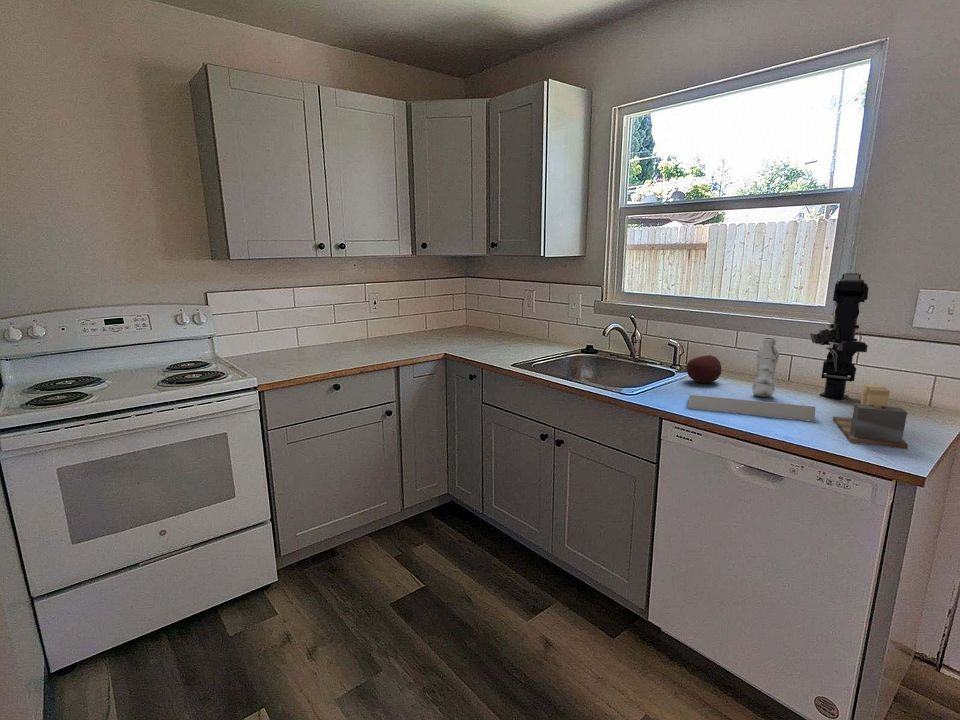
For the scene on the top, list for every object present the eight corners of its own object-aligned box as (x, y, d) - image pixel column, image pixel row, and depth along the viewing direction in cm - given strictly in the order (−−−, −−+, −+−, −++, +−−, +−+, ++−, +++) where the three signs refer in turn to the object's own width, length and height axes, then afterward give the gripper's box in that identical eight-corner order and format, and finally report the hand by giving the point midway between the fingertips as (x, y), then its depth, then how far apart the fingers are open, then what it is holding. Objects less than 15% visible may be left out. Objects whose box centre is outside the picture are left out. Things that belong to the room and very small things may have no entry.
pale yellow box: (857, 425, 139) (863, 383, 137) (874, 427, 138) (881, 385, 135) (865, 434, 133) (872, 391, 130) (883, 436, 131) (891, 392, 128)
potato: (678, 380, 193) (680, 354, 191) (707, 377, 196) (709, 351, 194) (698, 388, 182) (700, 360, 180) (728, 385, 186) (731, 357, 184)
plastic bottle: (748, 393, 175) (755, 336, 171) (770, 394, 174) (777, 337, 170) (754, 398, 169) (761, 340, 165) (776, 399, 168) (784, 340, 163)
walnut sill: (832, 420, 148) (837, 389, 146) (882, 425, 143) (888, 394, 141) (850, 442, 131) (855, 408, 129) (907, 448, 127) (913, 414, 125)
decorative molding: (688, 408, 169) (688, 409, 160) (689, 394, 169) (689, 394, 160) (806, 421, 156) (814, 423, 147) (808, 405, 156) (815, 406, 147)
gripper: (804, 317, 164) (797, 365, 166) (827, 321, 146) (819, 374, 148) (843, 319, 161) (836, 367, 163) (872, 323, 143) (863, 377, 145)
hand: (837, 371), depth 155 cm, fingers closed
